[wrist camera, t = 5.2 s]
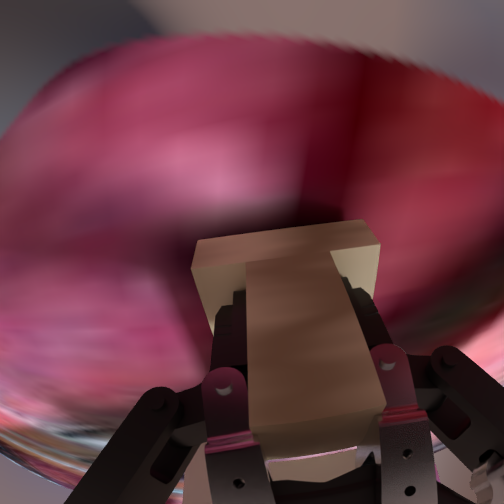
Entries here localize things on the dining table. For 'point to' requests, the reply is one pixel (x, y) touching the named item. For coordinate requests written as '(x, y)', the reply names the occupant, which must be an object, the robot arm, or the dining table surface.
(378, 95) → the dining table surface
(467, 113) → the dining table surface
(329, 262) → the stepped wooden block
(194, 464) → the notched block
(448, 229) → the dining table surface
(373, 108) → the dining table surface
